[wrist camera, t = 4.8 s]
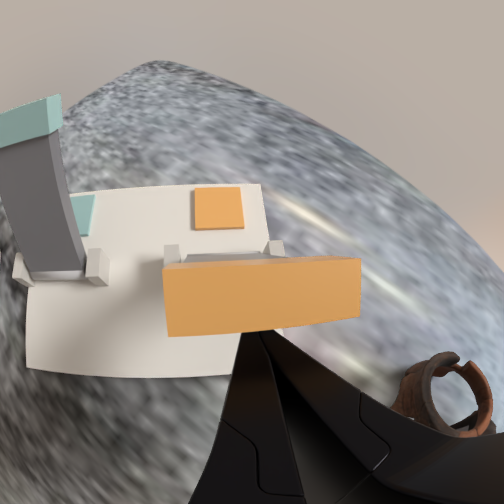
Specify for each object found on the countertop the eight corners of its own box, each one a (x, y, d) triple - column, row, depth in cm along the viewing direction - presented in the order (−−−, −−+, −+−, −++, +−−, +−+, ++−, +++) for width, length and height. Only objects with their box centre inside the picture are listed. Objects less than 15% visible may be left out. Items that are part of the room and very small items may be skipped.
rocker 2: (260, 272, 16) (359, 316, 6) (185, 276, 15) (168, 337, 5) (260, 248, 16) (360, 258, 6) (183, 252, 15) (162, 269, 5)
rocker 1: (90, 284, 13) (46, 98, 7) (32, 285, 12) (-20, 123, 6) (95, 268, 14) (60, 93, 8) (39, 270, 13) (-5, 115, 7)
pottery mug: (337, 478, 13) (404, 450, 9) (364, 382, 21) (413, 323, 16) (451, 490, 10) (523, 456, 6) (458, 408, 18) (512, 359, 13)
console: (281, 365, 16) (302, 365, 13) (39, 368, 13) (8, 365, 9) (257, 199, 20) (268, 167, 17) (54, 211, 17) (34, 183, 14)
